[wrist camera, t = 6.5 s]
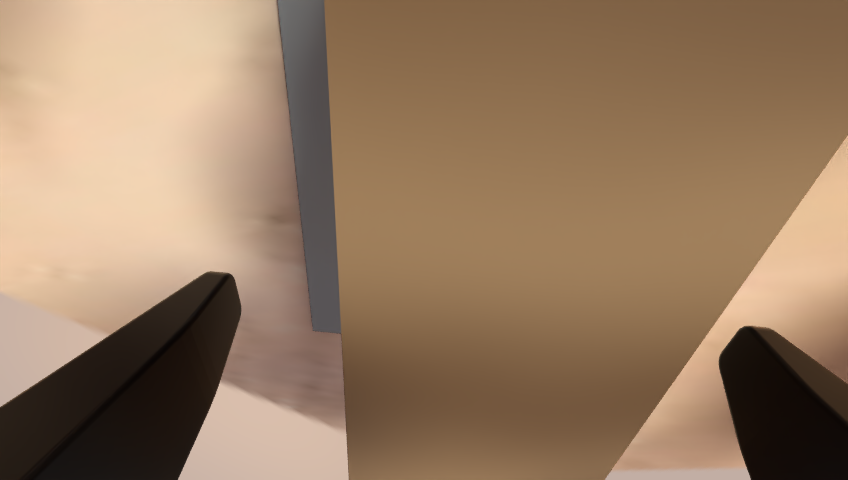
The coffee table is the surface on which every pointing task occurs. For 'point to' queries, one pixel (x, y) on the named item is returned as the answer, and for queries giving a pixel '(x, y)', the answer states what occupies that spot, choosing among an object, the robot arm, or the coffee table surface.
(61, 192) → the coffee table surface
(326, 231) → the build mat
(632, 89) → the walnut lintel
